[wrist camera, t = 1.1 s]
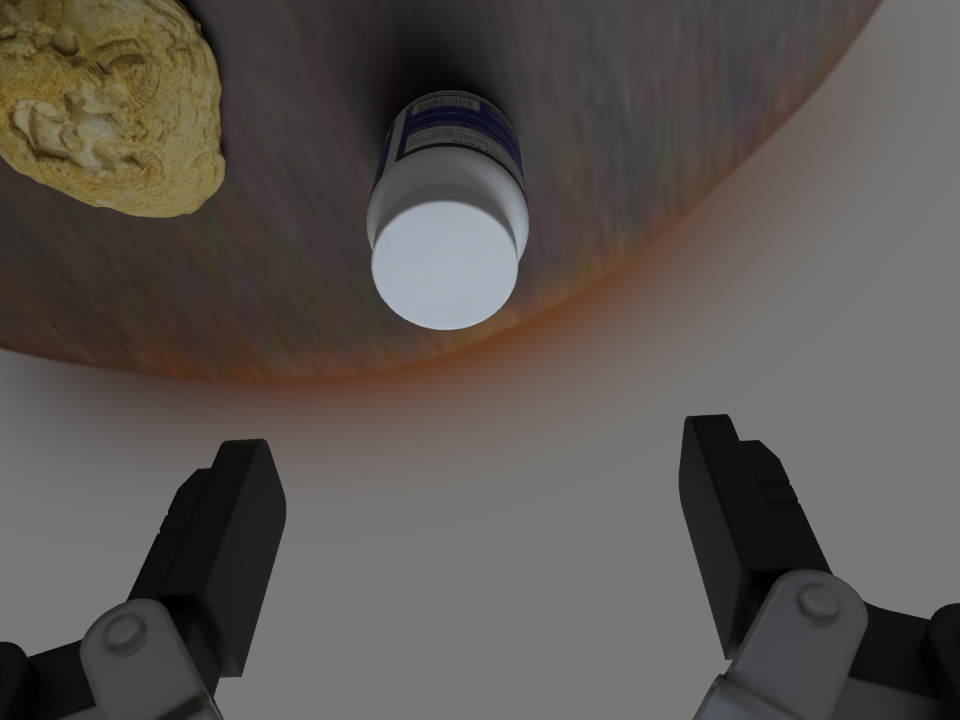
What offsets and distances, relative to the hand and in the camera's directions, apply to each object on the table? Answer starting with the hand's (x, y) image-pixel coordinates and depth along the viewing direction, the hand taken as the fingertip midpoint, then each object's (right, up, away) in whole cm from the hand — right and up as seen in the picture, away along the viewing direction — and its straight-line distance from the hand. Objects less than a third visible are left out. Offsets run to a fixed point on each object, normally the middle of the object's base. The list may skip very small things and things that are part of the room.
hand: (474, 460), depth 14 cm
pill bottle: (-1, +11, +17) cm, 20 cm away
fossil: (-15, +13, +16) cm, 25 cm away
